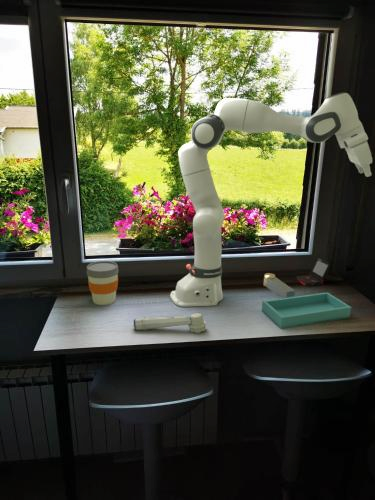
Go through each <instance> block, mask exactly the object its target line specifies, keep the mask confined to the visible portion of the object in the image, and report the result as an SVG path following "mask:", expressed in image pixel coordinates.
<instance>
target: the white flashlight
mask: <svg viewBox="0 0 375 500" xmlns="http://www.w3.org/2000/svg"><path fill="white" fill-rule="evenodd" d="M203 318H204V317H203V315H202V314H201V313H197V312H196V313H191V314H190V315H182V316H181V315H179V316H176V315H175V316H160V317H159V316H158V317H145V316H143V317H142V318H134V319H133V329H134V330H135V331H143V330H144V331H146V330H151V329H152V330H153V329H160V328H171V327H178V326H179V327H180V326H187V327H188V328H189V331H190V332H191V333H195V334H201V332H205V331H206V325H207V321H206V320H204V319H203Z"/></svg>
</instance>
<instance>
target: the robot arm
mask: <svg viewBox="0 0 375 500" xmlns="http://www.w3.org/2000/svg"><path fill="white" fill-rule="evenodd" d="M228 131H234V132H235V131H237V132H241V133H242V132H243V133H248V134H262V133H268V132H280V133H287V134H290V135H291V134H292V135H297V136H299V137H301V139H302V138H303V140H305V141H306V142H309V143H313V144H314V143H317V144H319V143H323V142H325V141H327V140H328V139H330V138H332V136H334V135H335V137H336V140H337V142H338V146H339V147H340V149H345V151H346V154H347V155H348V156H347V157H348V159H349V161H350V162H351V163H353V164H354V165H355V167H356V169H357V170H358V173H360V174H363V173H364V176H365V177H367V178H368V177H371V176H372V172H371V167H370V164H372V163H373V157H372V152H371V149H370V146H369V143H368V140H369V137H368V134H367V133H366V131H365V129H364V126H363V123H362V122H361V120H360V119H359V113H358V109H357V107H356V105H355V103H354V101H353V98H352V97H351V95H350V94H349V93H347V92H339V93H335V94H333V95H329V96H328V97H326V98H325V99H324V101H323V103H322V104H321V106H319V108H318V109H317V110H316V111H315V113H313V114H311V115H308V116H303V117H302V116H297V115H290V114H285V113H281V112H278V111H276V110H275V109H273V108H272V107H270V106H269V105H267V104H265V103H263V102H260V101H256V100H253V99H245V98H231V97H230V98H223V99H221V100H220V101H219V102H218V103H217V105H216V106H215V110H214V113H212V114H209V115H206V116H204V117H201V118H199V119H198V120H196V121H195V122H194V124H193V125H192V126H191V129H190V137H191V140H190V141H189V142H187V143H184V144H183V145H182V146H181V147H180V148H179V150H178V152H177V153H178V154H177V155H178V163H179V169H180V173H181V176H182V179H183V183H184V186H185V190H186V194H187V196H188V198H189V200H190V202H191V204H192V206H193V209H194V212H195V215H194V216H193V219H192V230H193V231H192V233H193V243H194V259H193V260H194V262H193V264H190V263H188V264H186V265H185V268H186V269H187V270H189V273H188V274H186V275H185V276H184V277H182V278H181V279H180V280H178V281H177V282H176V286H175V290H172V291H171V292H170V295H169V297H170V300H171V302H172V303H174V304H175V305H176V306H178V307H183V308H184V307H185V308H186V307H210V306H212V307H213V306H217V305H218V303H219V302H220V301H222V300H223V299H224V294H223V290H222V289H223V288H222V274H223V266H222V253H223V251H222V250H223V249H222V248H223V247H222V225H223V224H224V222H225V212H224V209H223V206H222V203H221V201H220V197H219V194H218V192H217V189H216V187H215V184H214V179H213V175H212V172H211V168H210V164H209V161H208V152H209V151H211V150H212V149H213V148H215V147H218V146H219V144H220V143H221V142H222V141H223V138H224V133H226V132H228Z"/></svg>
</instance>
